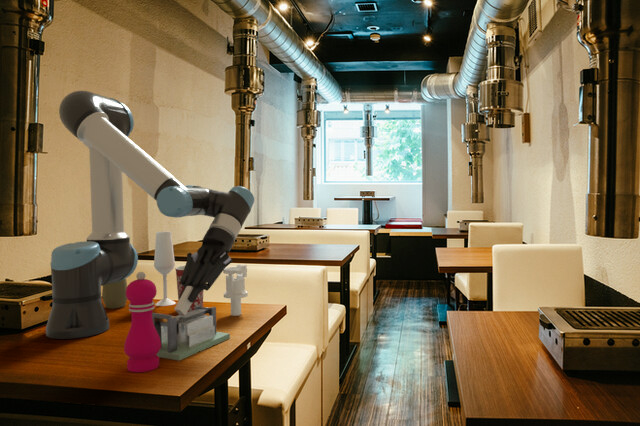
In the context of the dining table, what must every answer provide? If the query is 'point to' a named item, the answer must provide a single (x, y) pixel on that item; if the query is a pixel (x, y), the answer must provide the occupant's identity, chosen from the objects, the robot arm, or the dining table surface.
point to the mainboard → (186, 352)
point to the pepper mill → (142, 326)
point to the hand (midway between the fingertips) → (179, 312)
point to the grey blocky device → (186, 330)
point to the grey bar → (186, 316)
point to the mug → (180, 288)
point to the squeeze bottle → (115, 294)
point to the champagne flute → (164, 261)
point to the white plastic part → (235, 287)
